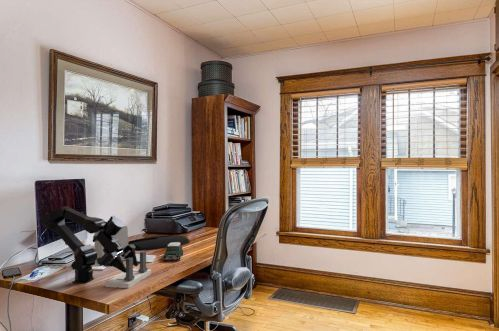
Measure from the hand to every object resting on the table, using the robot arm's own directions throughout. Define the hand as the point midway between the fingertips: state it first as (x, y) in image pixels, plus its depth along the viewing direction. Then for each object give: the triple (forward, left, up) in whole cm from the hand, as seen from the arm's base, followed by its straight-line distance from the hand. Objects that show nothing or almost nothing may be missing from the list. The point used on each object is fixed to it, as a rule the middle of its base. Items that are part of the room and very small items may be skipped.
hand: (131, 268), depth 143 cm
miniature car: (0, +46, -7) cm, 46 cm away
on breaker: (-1, +12, -5) cm, 13 cm away
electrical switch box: (-33, +35, -7) cm, 49 cm away
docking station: (-23, +77, -8) cm, 80 cm away
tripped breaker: (-1, 0, -5) cm, 5 cm away
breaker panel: (-5, +6, -7) cm, 11 cm away
